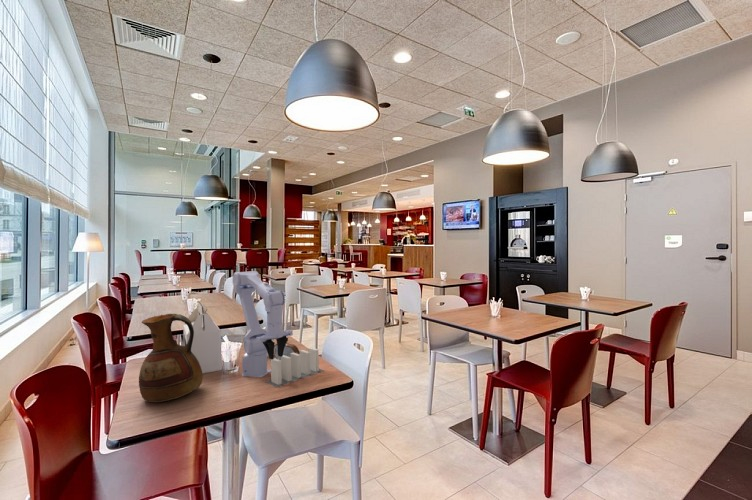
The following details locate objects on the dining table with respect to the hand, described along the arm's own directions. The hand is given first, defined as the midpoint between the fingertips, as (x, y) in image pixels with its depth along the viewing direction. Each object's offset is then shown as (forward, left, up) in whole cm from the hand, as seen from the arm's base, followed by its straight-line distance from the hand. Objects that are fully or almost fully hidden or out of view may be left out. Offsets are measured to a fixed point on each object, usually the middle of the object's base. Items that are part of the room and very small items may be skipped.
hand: (275, 357), depth 140 cm
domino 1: (0, 0, -10) cm, 10 cm away
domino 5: (+9, +16, -10) cm, 21 cm away
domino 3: (+4, +8, -10) cm, 13 cm away
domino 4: (+7, +12, -10) cm, 17 cm away
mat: (+4, +8, -10) cm, 14 cm away
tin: (-9, +25, -11) cm, 29 cm away
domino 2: (+2, +4, -10) cm, 11 cm away
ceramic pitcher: (-33, -16, -11) cm, 38 cm away
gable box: (-44, +13, -11) cm, 47 cm away
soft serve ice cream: (-26, +34, -11) cm, 44 cm away
